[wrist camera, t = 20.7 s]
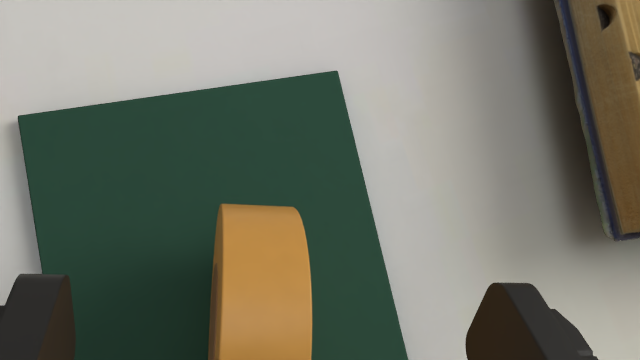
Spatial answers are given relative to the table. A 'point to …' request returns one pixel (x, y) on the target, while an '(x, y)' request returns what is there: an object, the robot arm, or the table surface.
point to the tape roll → (260, 285)
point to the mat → (203, 213)
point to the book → (608, 102)
